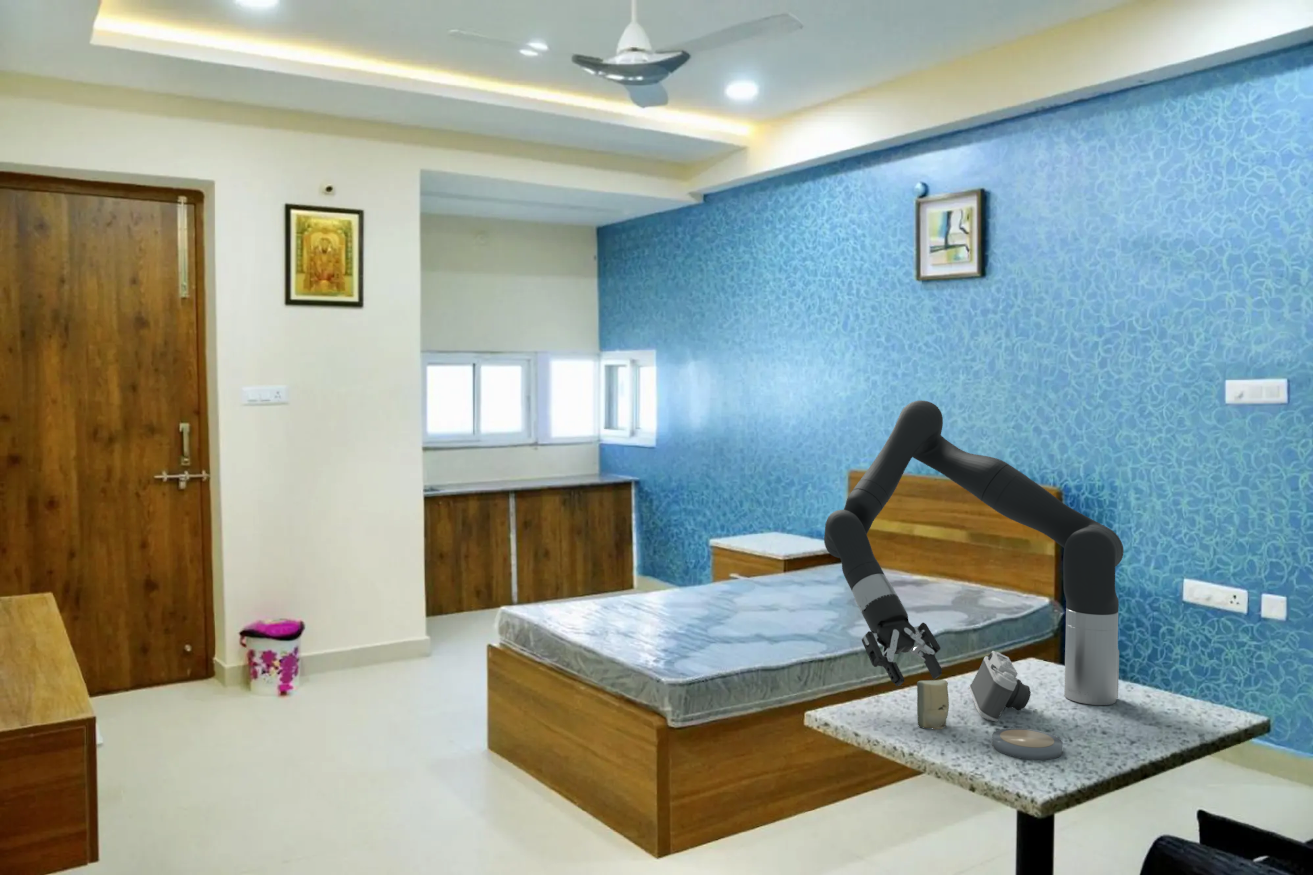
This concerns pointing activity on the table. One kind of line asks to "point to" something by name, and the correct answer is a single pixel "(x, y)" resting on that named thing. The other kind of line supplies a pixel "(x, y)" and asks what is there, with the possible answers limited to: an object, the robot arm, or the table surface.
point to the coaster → (1027, 743)
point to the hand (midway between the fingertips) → (919, 680)
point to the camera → (998, 687)
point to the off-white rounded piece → (932, 703)
